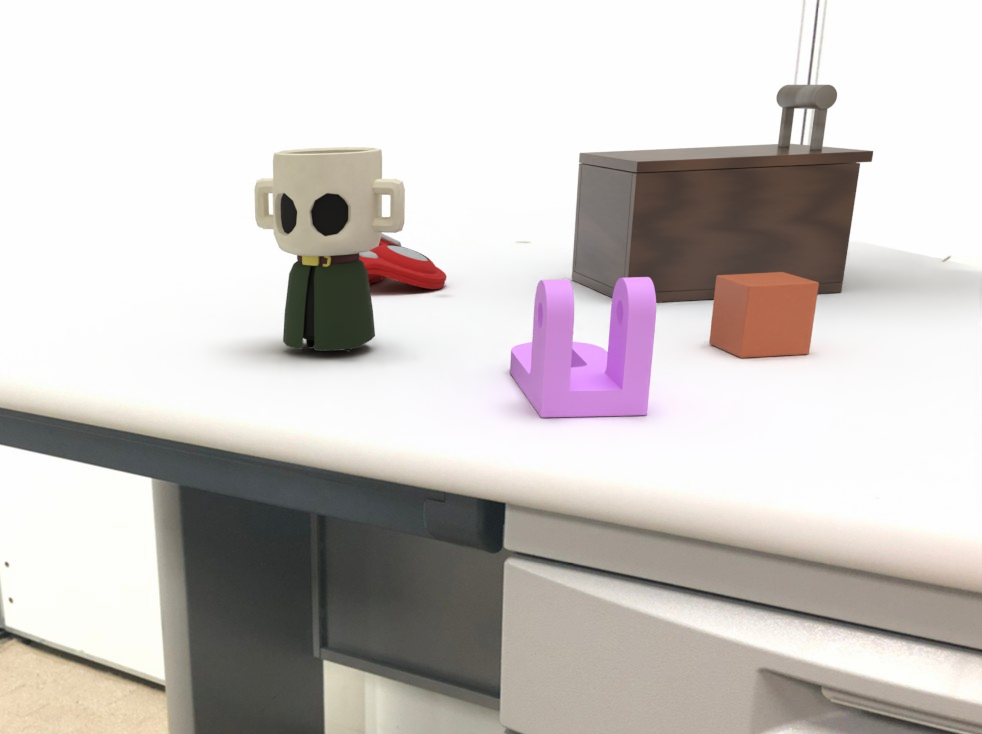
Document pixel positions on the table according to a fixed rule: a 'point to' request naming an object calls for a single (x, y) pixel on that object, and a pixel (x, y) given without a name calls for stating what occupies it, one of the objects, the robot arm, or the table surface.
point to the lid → (748, 154)
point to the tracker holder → (401, 265)
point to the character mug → (328, 239)
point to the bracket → (588, 354)
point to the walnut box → (712, 226)
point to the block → (763, 314)
